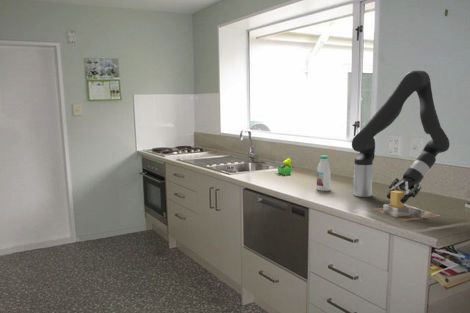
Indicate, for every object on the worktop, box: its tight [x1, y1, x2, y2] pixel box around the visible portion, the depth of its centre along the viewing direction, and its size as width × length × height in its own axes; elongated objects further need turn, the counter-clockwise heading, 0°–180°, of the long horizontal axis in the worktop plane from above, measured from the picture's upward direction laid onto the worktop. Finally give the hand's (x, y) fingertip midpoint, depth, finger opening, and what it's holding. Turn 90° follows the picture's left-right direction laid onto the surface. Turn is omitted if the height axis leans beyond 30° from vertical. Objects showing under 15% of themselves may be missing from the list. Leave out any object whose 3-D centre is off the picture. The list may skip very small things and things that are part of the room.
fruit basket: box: [276, 157, 293, 176], centre depth 277 cm, size 11×9×11 cm
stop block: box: [389, 189, 405, 208], centre depth 175 cm, size 4×4×10 cm
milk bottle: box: [316, 154, 331, 192], centre depth 227 cm, size 8×8×20 cm
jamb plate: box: [373, 203, 441, 222], centre depth 177 cm, size 20×20×4 cm
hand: (394, 199), depth 174 cm, fingers open, 8 cm apart
